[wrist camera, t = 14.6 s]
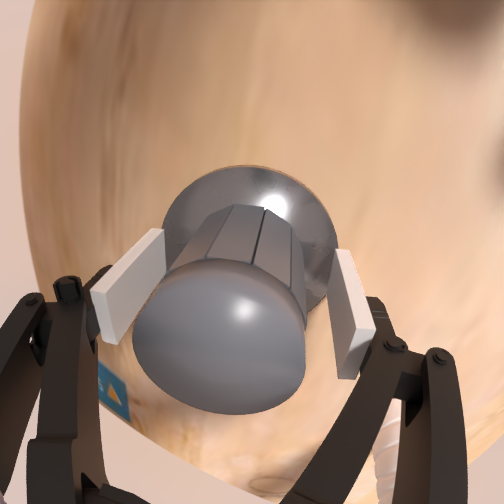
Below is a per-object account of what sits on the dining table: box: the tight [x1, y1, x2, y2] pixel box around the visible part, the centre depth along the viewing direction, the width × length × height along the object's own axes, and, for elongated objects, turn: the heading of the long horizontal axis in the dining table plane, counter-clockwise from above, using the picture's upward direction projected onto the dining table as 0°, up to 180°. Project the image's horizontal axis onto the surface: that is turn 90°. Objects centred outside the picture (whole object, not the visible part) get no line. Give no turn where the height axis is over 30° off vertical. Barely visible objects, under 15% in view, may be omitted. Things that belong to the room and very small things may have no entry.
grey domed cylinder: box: [132, 204, 307, 415], centre depth 14 cm, size 6×6×8 cm
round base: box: [162, 165, 338, 313], centre depth 15 cm, size 10×10×6 cm
